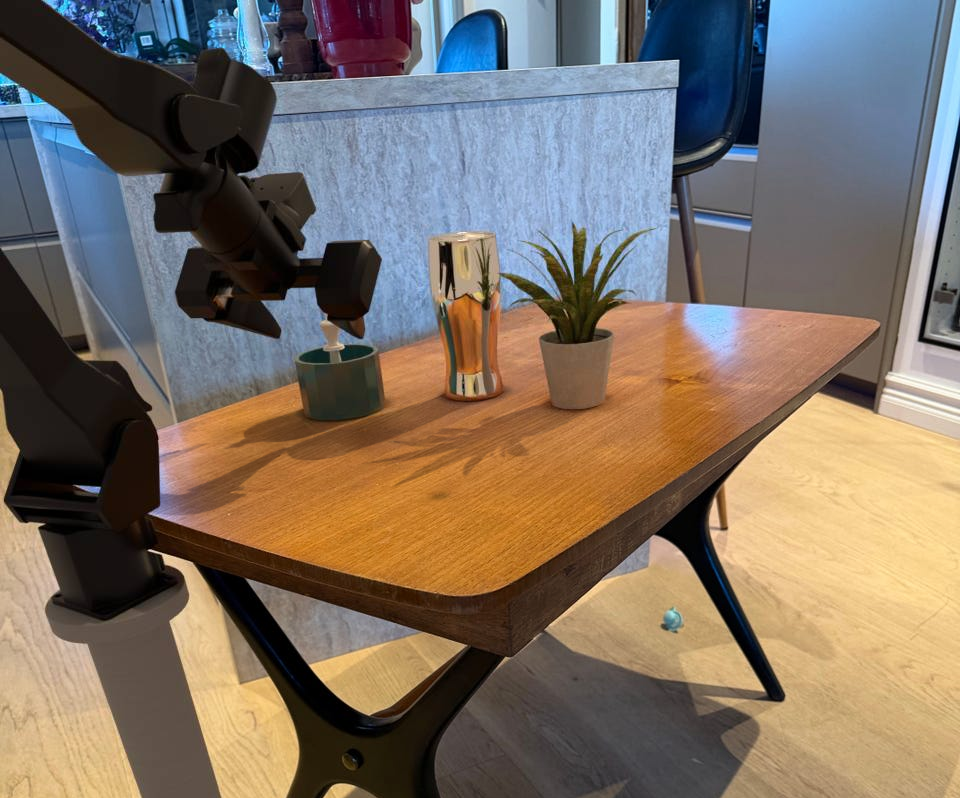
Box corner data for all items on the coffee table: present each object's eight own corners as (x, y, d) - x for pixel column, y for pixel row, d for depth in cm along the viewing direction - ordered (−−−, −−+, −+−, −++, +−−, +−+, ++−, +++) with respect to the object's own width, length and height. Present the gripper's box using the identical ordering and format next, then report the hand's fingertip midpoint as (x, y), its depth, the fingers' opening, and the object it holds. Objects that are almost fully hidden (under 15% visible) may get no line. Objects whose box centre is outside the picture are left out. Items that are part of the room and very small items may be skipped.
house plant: (614, 371, 96) (614, 202, 87) (688, 400, 84) (695, 210, 76) (492, 395, 91) (479, 220, 83) (552, 429, 80) (545, 231, 72)
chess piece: (334, 414, 88) (317, 308, 83) (309, 405, 91) (291, 303, 86) (375, 402, 91) (361, 298, 85) (350, 394, 94) (335, 294, 89)
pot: (349, 424, 86) (340, 367, 84) (287, 416, 91) (276, 361, 88) (401, 400, 92) (394, 346, 89) (341, 393, 96) (333, 341, 94)
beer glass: (433, 390, 95) (417, 236, 87) (495, 380, 96) (485, 228, 89) (451, 406, 89) (435, 243, 81) (517, 395, 90) (507, 234, 83)
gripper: (354, 129, 70) (426, 258, 84) (161, 146, 76) (258, 263, 90) (321, 253, 67) (401, 364, 82) (125, 259, 74) (230, 362, 88)
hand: (320, 334), depth 86 cm, fingers open, 9 cm apart
